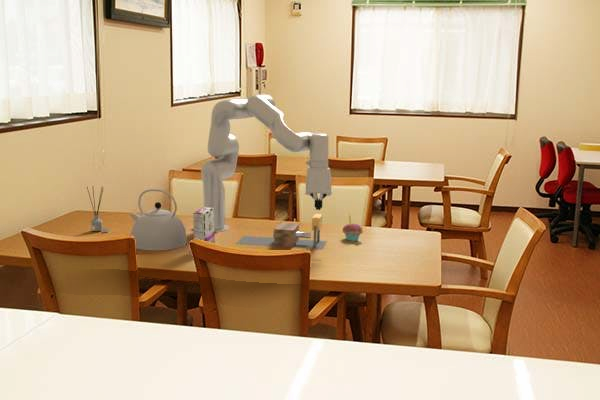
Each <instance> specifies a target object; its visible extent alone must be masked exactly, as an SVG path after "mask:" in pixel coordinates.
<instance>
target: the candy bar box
mask: <svg viewBox="0 0 600 400" xmlns="http://www.w3.org/2000/svg"><path fill="white" fill-rule="evenodd" d="M194 238H197V239H200V240H204V241H207V242H211V243H214V244H215V241H216V240H215V232H214V208H210V207H204V206H203V207H201V208H199V209H198V210H196V211H195V212H193V239H194Z"/></svg>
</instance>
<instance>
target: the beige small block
mask: <svg viewBox="0 0 600 400" xmlns="http://www.w3.org/2000/svg"><path fill="white" fill-rule="evenodd" d="M314 226H317V231H319V230H320V231H321V229H322V227H323V214H322V213H314V215H313V216H312V217H311V231H314Z"/></svg>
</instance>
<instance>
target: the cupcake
mask: <svg viewBox="0 0 600 400" xmlns="http://www.w3.org/2000/svg"><path fill="white" fill-rule="evenodd" d="M348 220H349V221H348V224H346V225H344V226H343V227H342V233H344V236H345V239H346V240H347V241H353V242H355V241H356V242H358V241H359V238H360V236H361V234H363V232H364V230H363V227H361V226H360V225H359V224H356V223H352V220H351V214H348Z"/></svg>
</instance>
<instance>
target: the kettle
mask: <svg viewBox="0 0 600 400" xmlns="http://www.w3.org/2000/svg"><path fill="white" fill-rule="evenodd" d="M148 192H149V193H150V192H160V193H161V192H162V193H164V194H167V195H168V196H169V197H170V198H171V200H172V201H173V204H174V210H173V212H172V211H170V210H167V209H161V208H162V204H161V202H158V201H157V202H155V204H154V208H155V209H152V210H151V209H150V210H148V211H145V213H144V211H143V209H142V205H141V200H142V199H141V198H142V197H143V195H145V194H146V193H148ZM177 207H178V206H177V202H176V199H175V197H174V195H172V194H171V193H170V192H169V191H166V190H164V189H158V188H157V189H156V188H151V189H150V188H149V189H146V190H143V191H142V192H141V193H140V195H139V196H138V208H139V210H140V213H141V215H139V214H138V213H136V212H132V213H130V214H129V216H130V217H131V219H132V220H133V221H135V222H134V223H133V226H132V229H131V232H130V236H131V235H133V236H134V237H135V239H136V248H135V249H137V250H142V251H143V250H144V251H166V250H168V249H169V250H174V248H175V249H178V248H182V247H184V246H185V245H186V244H187V243H188V240H187V231H186V227H185V225H184V223H183V222H182V220H181V219H180V217H178V216H177V215H176V212H177V210H178V208H177ZM183 245H184V246H183ZM181 246H182V247H181Z"/></svg>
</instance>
